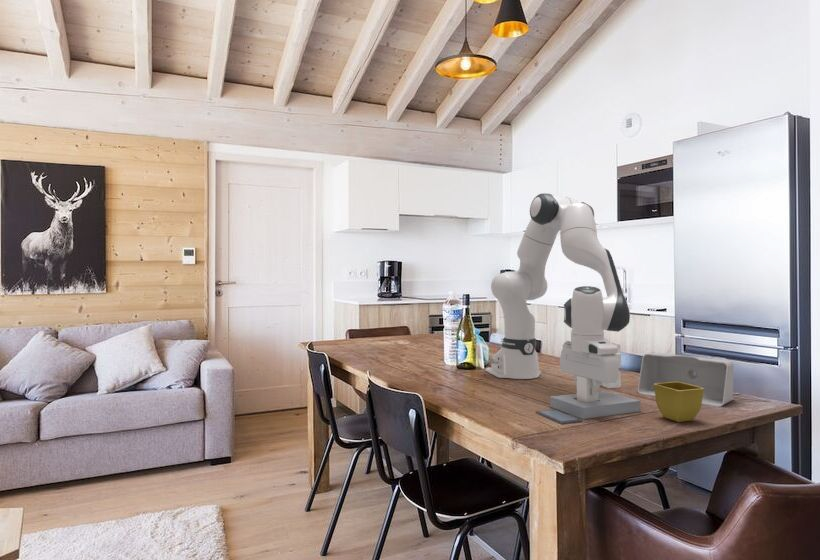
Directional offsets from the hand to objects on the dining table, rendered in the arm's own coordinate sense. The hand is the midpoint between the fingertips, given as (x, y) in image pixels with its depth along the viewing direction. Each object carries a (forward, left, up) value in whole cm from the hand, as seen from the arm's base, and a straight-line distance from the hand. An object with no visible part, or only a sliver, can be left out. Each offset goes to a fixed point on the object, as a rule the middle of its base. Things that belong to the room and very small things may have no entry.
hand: (587, 393), depth 152 cm
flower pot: (+17, +16, -5) cm, 24 cm away
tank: (-2, +41, -5) cm, 42 cm away
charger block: (0, 0, -2) cm, 2 cm away
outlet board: (0, +3, -5) cm, 6 cm away
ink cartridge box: (-23, +29, -5) cm, 37 cm away
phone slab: (+3, -12, -5) cm, 14 cm away
